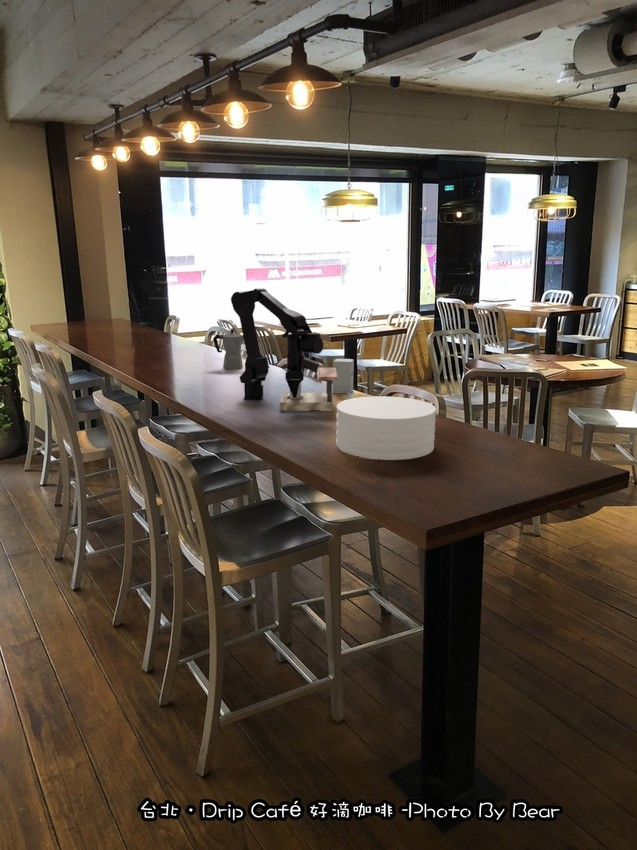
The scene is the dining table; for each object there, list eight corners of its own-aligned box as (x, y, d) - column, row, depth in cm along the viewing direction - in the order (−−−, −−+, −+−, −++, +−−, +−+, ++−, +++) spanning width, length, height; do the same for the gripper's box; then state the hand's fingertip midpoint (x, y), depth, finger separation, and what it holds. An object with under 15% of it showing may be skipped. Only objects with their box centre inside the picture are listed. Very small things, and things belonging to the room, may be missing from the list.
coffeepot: (246, 365, 322) (245, 327, 317) (248, 369, 313) (247, 330, 308) (213, 366, 319) (211, 328, 314) (214, 370, 310) (213, 330, 305)
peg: (289, 406, 241) (289, 382, 238) (290, 404, 245) (290, 379, 242) (300, 407, 241) (300, 382, 238) (301, 404, 245) (301, 379, 242)
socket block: (280, 411, 234) (279, 376, 231) (282, 399, 251) (282, 367, 248) (336, 411, 234) (337, 376, 231) (335, 400, 251) (335, 367, 248)
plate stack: (318, 440, 201) (318, 402, 198) (395, 428, 214) (397, 392, 211) (371, 466, 177) (372, 423, 174) (454, 451, 190) (456, 411, 188)
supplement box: (350, 394, 262) (351, 361, 259) (331, 393, 263) (332, 361, 260) (353, 390, 269) (354, 358, 266) (335, 389, 270) (335, 358, 267)
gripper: (318, 355, 229) (318, 400, 233) (318, 347, 247) (317, 389, 251) (285, 355, 229) (285, 400, 233) (287, 347, 247) (287, 389, 251)
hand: (295, 394), depth 242 cm, fingers open, 9 cm apart
